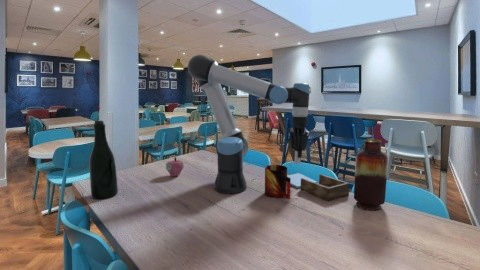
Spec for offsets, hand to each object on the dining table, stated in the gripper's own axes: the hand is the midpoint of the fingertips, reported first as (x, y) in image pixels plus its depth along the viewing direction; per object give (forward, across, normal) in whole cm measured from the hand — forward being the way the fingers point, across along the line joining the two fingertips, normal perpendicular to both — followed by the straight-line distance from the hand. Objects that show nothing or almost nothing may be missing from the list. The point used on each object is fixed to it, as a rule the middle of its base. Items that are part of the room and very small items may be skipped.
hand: (297, 163), depth 132 cm
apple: (+12, +43, +48) cm, 66 cm away
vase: (+9, -36, -4) cm, 38 cm away
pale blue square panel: (+9, -1, -1) cm, 9 cm away
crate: (+9, -17, -1) cm, 20 cm away
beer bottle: (+12, +31, +83) cm, 90 cm away
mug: (+10, -9, +18) cm, 22 cm away
